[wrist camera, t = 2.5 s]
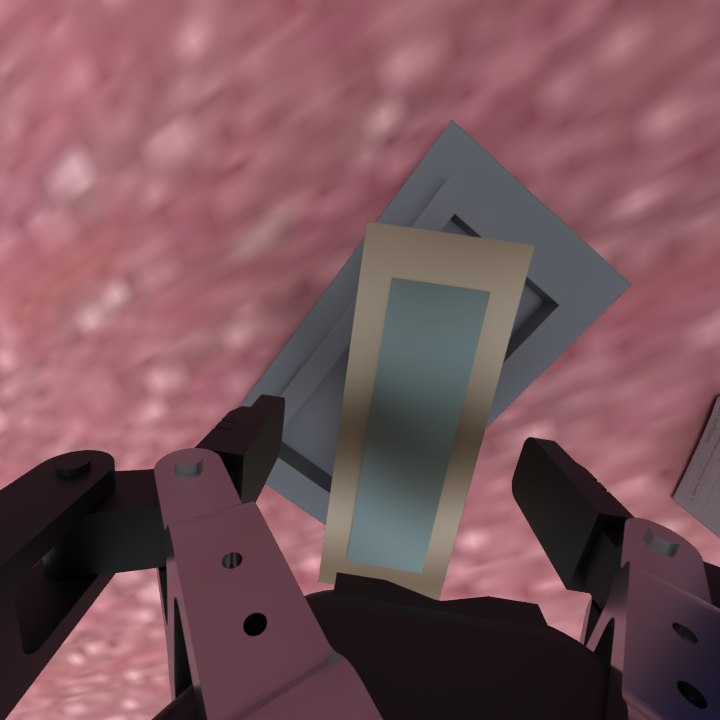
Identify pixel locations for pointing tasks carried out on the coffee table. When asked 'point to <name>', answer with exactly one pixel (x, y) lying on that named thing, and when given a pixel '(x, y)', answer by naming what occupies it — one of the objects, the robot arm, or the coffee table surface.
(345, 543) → the oak frame
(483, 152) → the grey rectangular framed panel
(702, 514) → the supplement box
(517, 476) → the robot arm
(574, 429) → the coffee table surface
